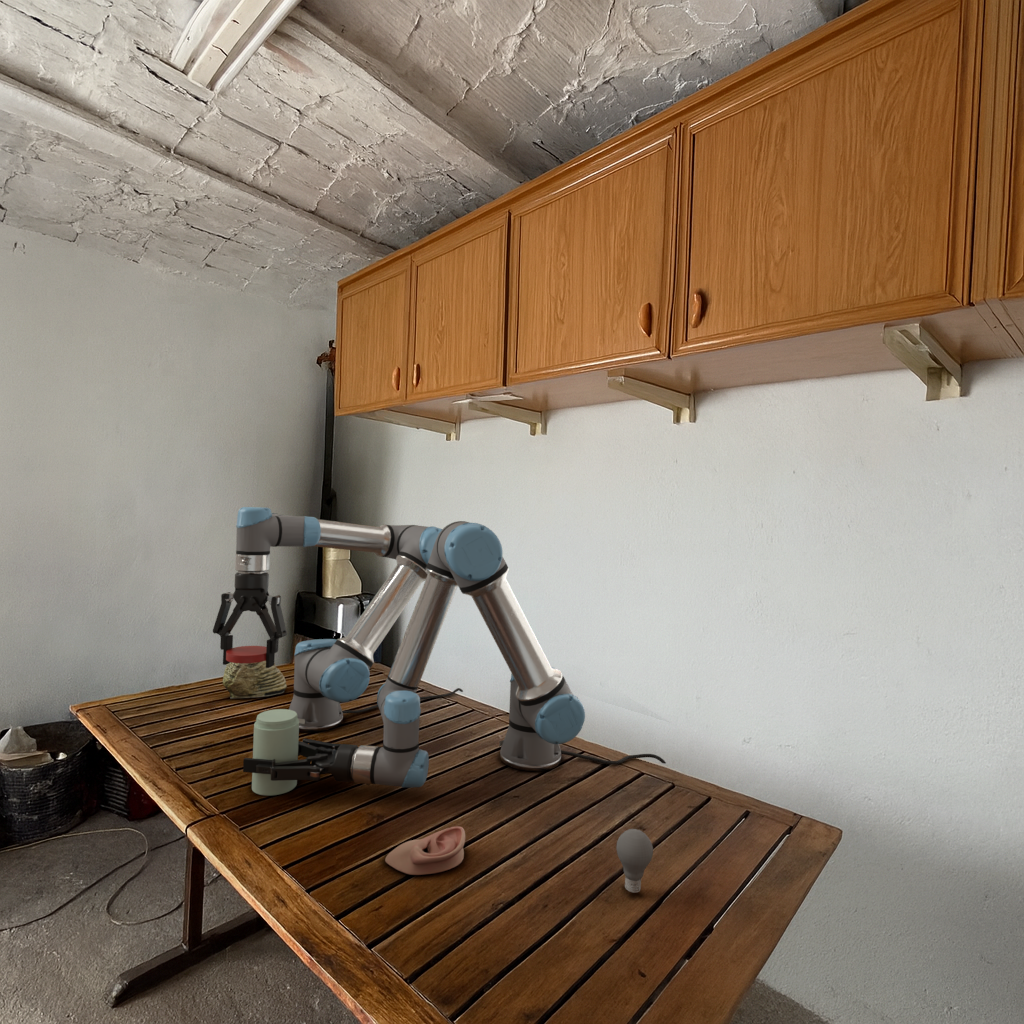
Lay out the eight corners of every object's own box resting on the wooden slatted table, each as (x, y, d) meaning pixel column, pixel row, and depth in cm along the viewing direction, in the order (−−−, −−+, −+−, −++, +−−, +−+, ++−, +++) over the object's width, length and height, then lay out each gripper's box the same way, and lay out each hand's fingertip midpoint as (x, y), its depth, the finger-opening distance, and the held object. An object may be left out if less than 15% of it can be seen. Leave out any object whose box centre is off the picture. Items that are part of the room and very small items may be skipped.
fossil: (218, 695, 195) (220, 647, 195) (278, 685, 208) (279, 640, 207) (228, 703, 189) (230, 653, 188) (289, 692, 201) (290, 645, 201)
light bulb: (610, 879, 108) (613, 822, 108) (644, 879, 109) (647, 822, 109) (619, 902, 102) (622, 840, 102) (655, 901, 103) (658, 840, 103)
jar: (303, 778, 142) (306, 709, 142) (285, 797, 133) (288, 724, 133) (264, 774, 143) (267, 706, 143) (243, 793, 134) (246, 720, 133)
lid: (216, 658, 149) (216, 651, 149) (252, 651, 158) (252, 643, 158) (245, 665, 144) (245, 657, 144) (280, 657, 153) (280, 649, 153)
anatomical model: (378, 846, 108) (403, 814, 120) (377, 869, 108) (402, 835, 120) (453, 858, 106) (471, 824, 117) (452, 882, 106) (470, 846, 117)
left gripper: (198, 570, 148) (194, 665, 148) (290, 576, 146) (286, 672, 146) (216, 567, 156) (212, 657, 156) (304, 572, 153) (300, 664, 154)
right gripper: (336, 805, 125) (228, 795, 127) (371, 760, 147) (278, 752, 149) (338, 767, 125) (229, 758, 127) (372, 728, 147) (279, 721, 149)
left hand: (248, 664), depth 151 cm, fingers closed on lid, 10 cm apart
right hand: (255, 755), depth 138 cm, fingers closed on jar, 9 cm apart
